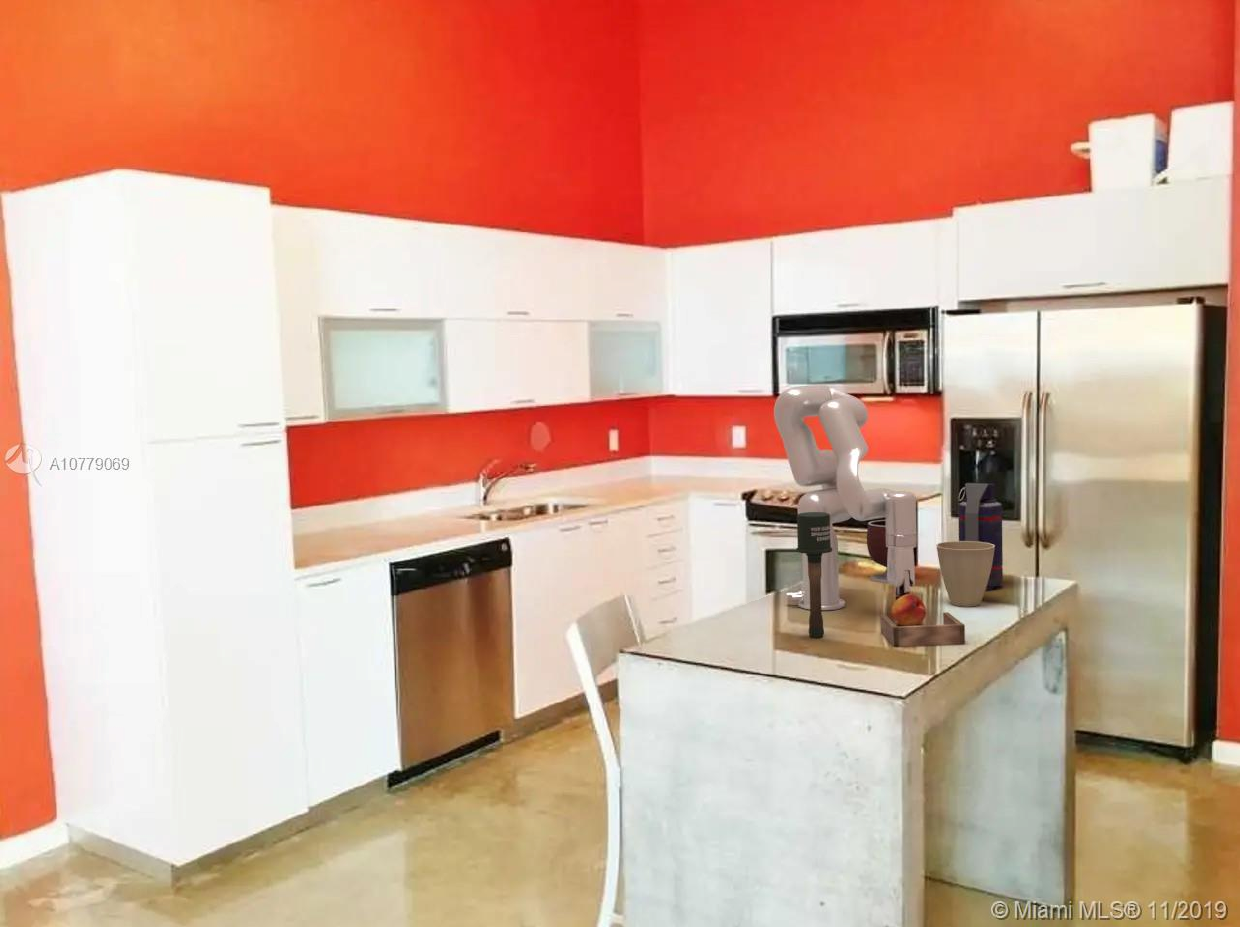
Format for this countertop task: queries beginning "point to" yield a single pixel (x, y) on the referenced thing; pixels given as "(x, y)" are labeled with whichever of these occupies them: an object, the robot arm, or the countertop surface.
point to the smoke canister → (983, 524)
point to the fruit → (908, 610)
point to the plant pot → (965, 570)
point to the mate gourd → (878, 547)
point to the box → (924, 633)
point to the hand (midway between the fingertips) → (902, 611)
